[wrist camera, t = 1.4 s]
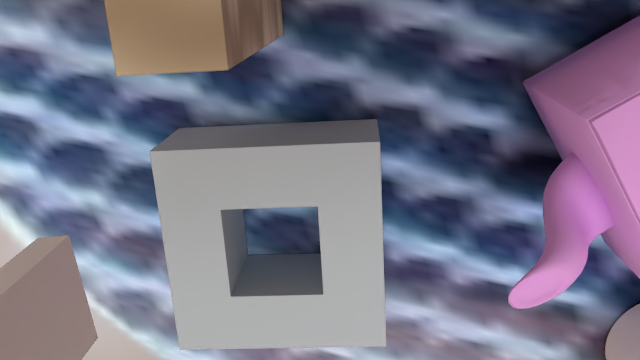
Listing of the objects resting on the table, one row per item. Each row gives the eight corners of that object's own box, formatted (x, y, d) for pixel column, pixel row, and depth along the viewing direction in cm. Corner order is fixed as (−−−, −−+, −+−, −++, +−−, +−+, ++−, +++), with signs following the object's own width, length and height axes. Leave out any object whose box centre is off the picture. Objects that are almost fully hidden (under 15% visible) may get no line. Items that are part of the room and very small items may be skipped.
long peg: (210, -32, 31) (96, -45, 17) (278, -36, 30) (215, -54, 17) (218, 38, 32) (116, 75, 18) (283, 34, 31) (228, 70, 18)
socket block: (179, 127, 33) (149, 151, 29) (376, 119, 32) (379, 141, 28) (203, 302, 37) (179, 349, 32) (382, 298, 36) (386, 346, 31)
